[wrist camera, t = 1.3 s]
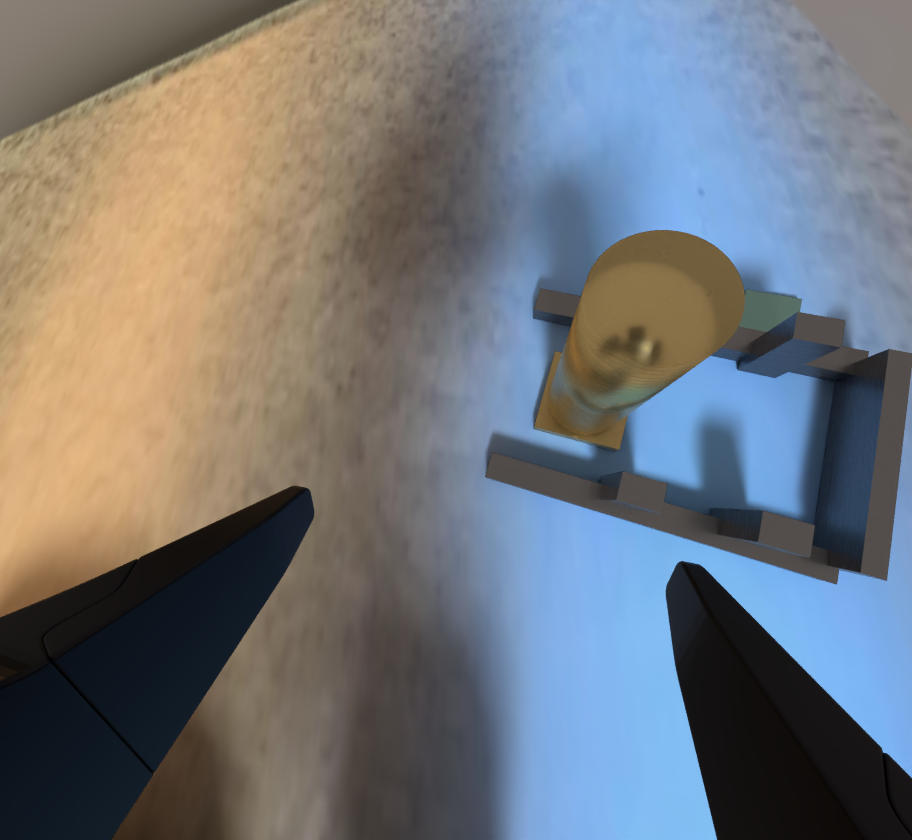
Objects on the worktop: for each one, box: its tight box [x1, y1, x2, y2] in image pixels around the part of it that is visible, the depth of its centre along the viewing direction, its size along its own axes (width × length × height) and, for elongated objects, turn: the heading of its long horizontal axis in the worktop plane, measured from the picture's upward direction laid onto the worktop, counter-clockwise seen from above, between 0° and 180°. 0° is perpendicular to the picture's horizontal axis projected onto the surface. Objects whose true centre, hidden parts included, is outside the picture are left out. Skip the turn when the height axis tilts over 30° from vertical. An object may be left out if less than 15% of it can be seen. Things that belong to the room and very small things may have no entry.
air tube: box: [534, 230, 745, 451], centre depth 17 cm, size 5×5×12 cm
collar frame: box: [485, 289, 912, 584], centre depth 20 cm, size 16×18×4 cm
